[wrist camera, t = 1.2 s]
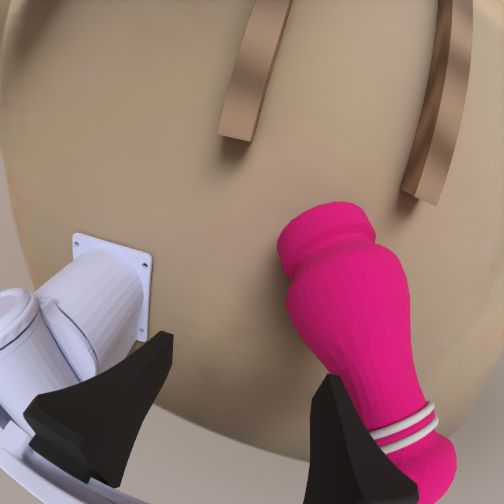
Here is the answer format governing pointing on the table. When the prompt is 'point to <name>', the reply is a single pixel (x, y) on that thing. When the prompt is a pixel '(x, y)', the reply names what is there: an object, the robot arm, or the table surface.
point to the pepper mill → (365, 335)
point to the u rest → (435, 104)
